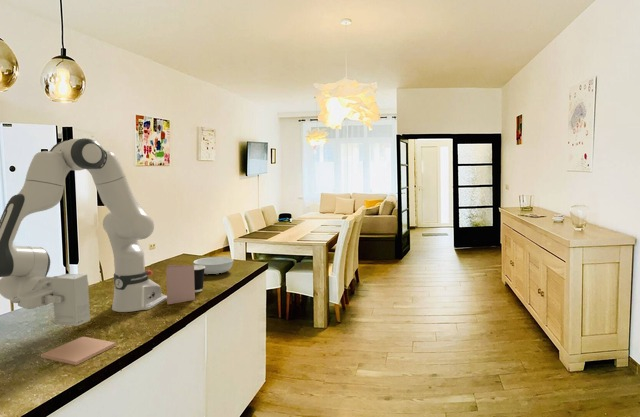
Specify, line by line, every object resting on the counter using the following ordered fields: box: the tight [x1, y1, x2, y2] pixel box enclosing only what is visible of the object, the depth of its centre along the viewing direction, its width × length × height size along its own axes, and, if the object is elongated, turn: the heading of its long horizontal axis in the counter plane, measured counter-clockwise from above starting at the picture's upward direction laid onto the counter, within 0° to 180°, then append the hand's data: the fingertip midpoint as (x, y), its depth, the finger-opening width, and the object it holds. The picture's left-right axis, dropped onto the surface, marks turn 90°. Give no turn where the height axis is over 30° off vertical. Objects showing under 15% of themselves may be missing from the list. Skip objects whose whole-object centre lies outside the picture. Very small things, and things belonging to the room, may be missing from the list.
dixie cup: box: [194, 265, 205, 293], centre depth 190 cm, size 8×8×11 cm
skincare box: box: [52, 273, 91, 327], centre depth 128 cm, size 8×6×15 cm
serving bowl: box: [192, 256, 234, 275], centre depth 223 cm, size 21×21×7 cm
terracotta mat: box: [40, 336, 117, 366], centre depth 127 cm, size 14×14×1 cm
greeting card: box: [165, 264, 196, 305], centre depth 174 cm, size 11×7×15 cm, turn 89°
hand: (73, 295), depth 127 cm, fingers closed on skincare box, 6 cm apart
